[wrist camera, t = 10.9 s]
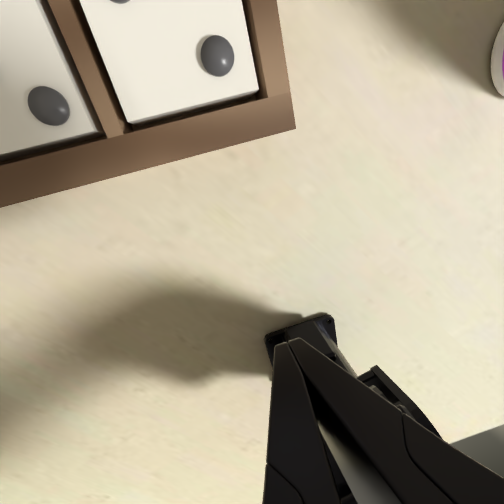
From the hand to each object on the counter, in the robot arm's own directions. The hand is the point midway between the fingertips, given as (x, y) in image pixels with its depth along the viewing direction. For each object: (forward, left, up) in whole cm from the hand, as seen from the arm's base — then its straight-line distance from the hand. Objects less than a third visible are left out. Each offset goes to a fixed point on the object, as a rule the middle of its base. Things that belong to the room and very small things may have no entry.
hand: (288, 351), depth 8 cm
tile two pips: (+11, +1, -10) cm, 15 cm away
